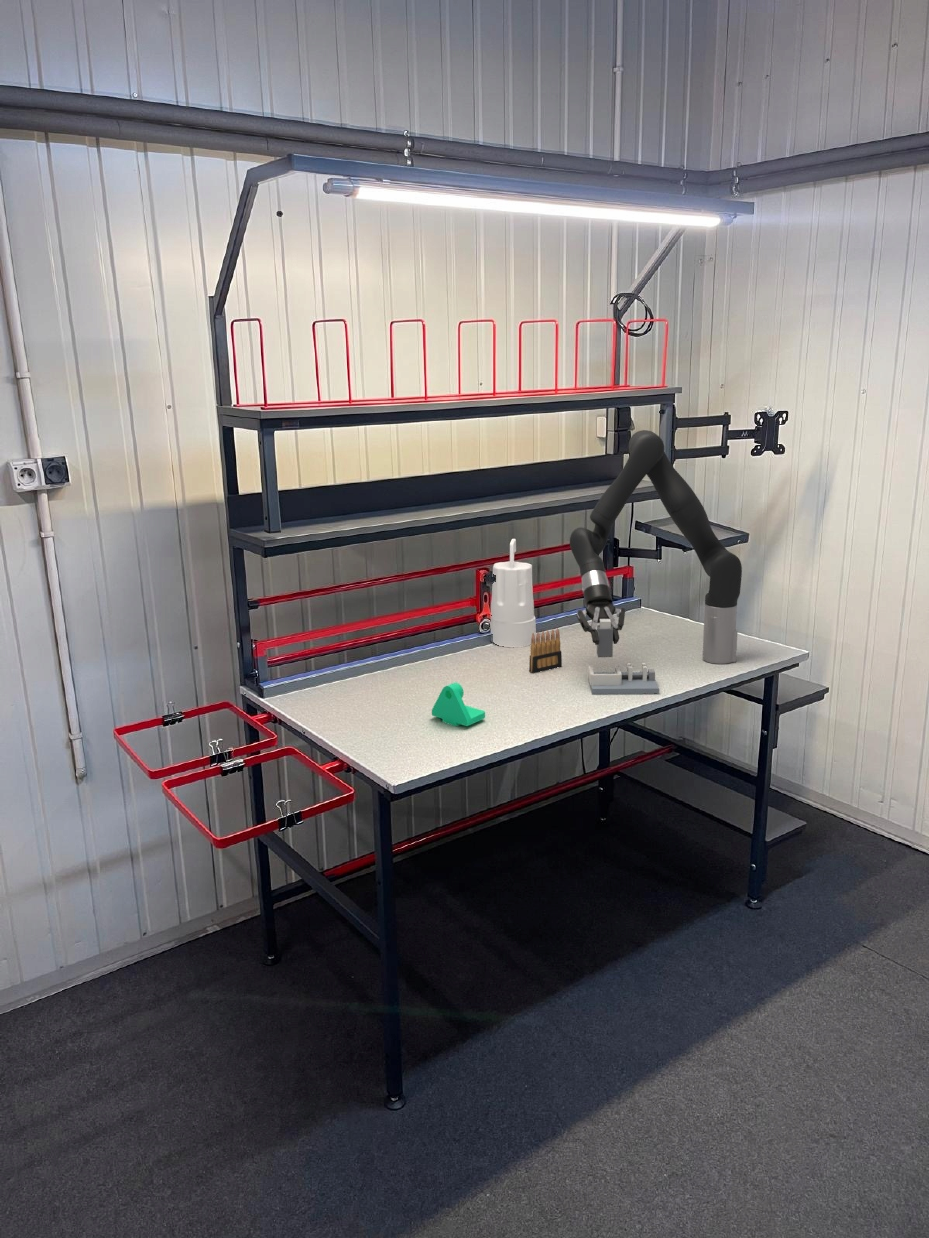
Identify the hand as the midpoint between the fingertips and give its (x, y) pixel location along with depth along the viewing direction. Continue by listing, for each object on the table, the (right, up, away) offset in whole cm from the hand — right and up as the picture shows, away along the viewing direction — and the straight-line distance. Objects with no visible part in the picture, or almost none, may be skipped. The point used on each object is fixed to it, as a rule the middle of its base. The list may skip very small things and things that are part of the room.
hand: (606, 642), depth 246 cm
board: (+5, -12, +5) cm, 14 cm away
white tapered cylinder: (-23, -1, +50) cm, 55 cm away
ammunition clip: (-15, -9, +21) cm, 27 cm away
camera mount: (-40, -20, -16) cm, 48 cm away
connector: (0, -3, +3) cm, 5 cm away
